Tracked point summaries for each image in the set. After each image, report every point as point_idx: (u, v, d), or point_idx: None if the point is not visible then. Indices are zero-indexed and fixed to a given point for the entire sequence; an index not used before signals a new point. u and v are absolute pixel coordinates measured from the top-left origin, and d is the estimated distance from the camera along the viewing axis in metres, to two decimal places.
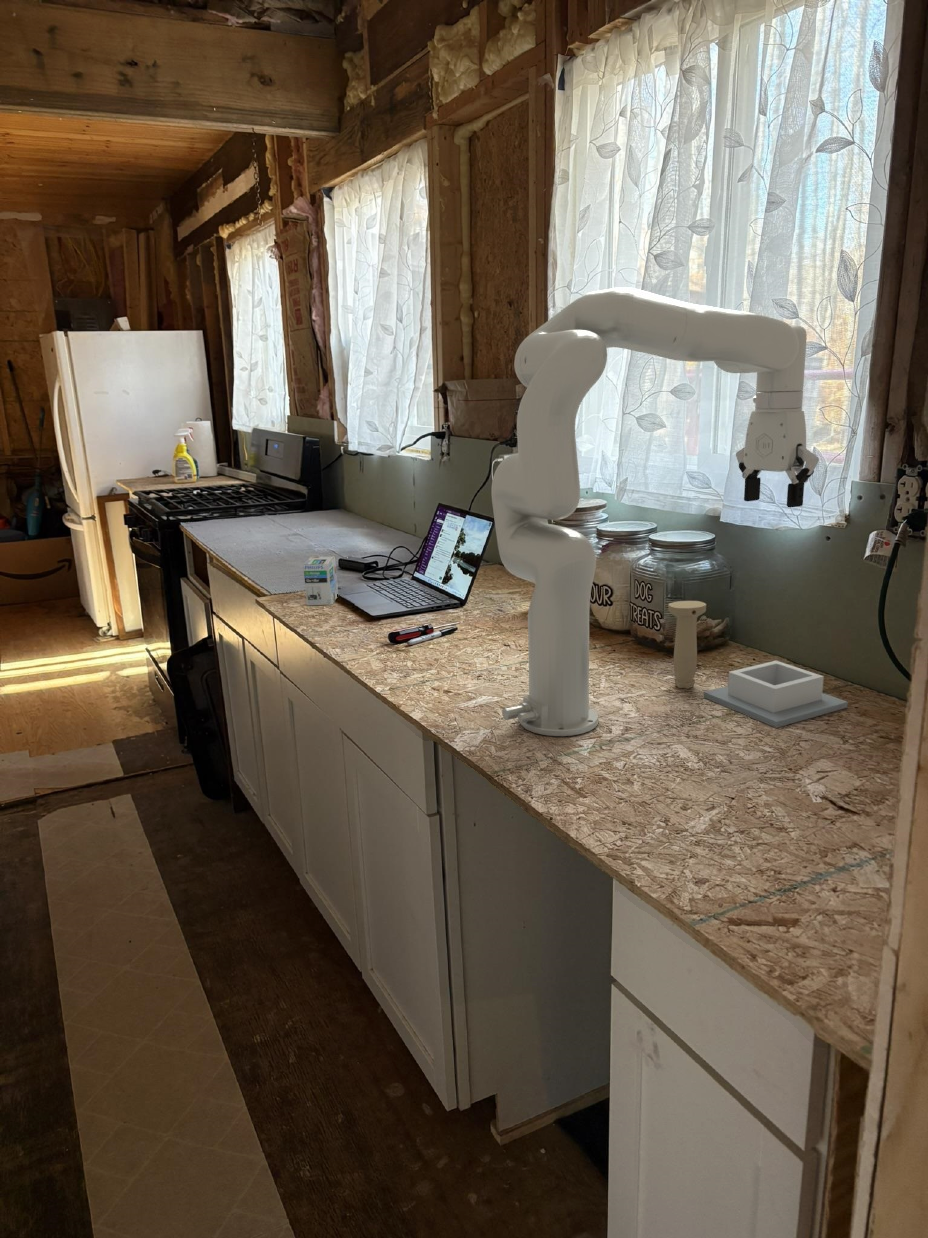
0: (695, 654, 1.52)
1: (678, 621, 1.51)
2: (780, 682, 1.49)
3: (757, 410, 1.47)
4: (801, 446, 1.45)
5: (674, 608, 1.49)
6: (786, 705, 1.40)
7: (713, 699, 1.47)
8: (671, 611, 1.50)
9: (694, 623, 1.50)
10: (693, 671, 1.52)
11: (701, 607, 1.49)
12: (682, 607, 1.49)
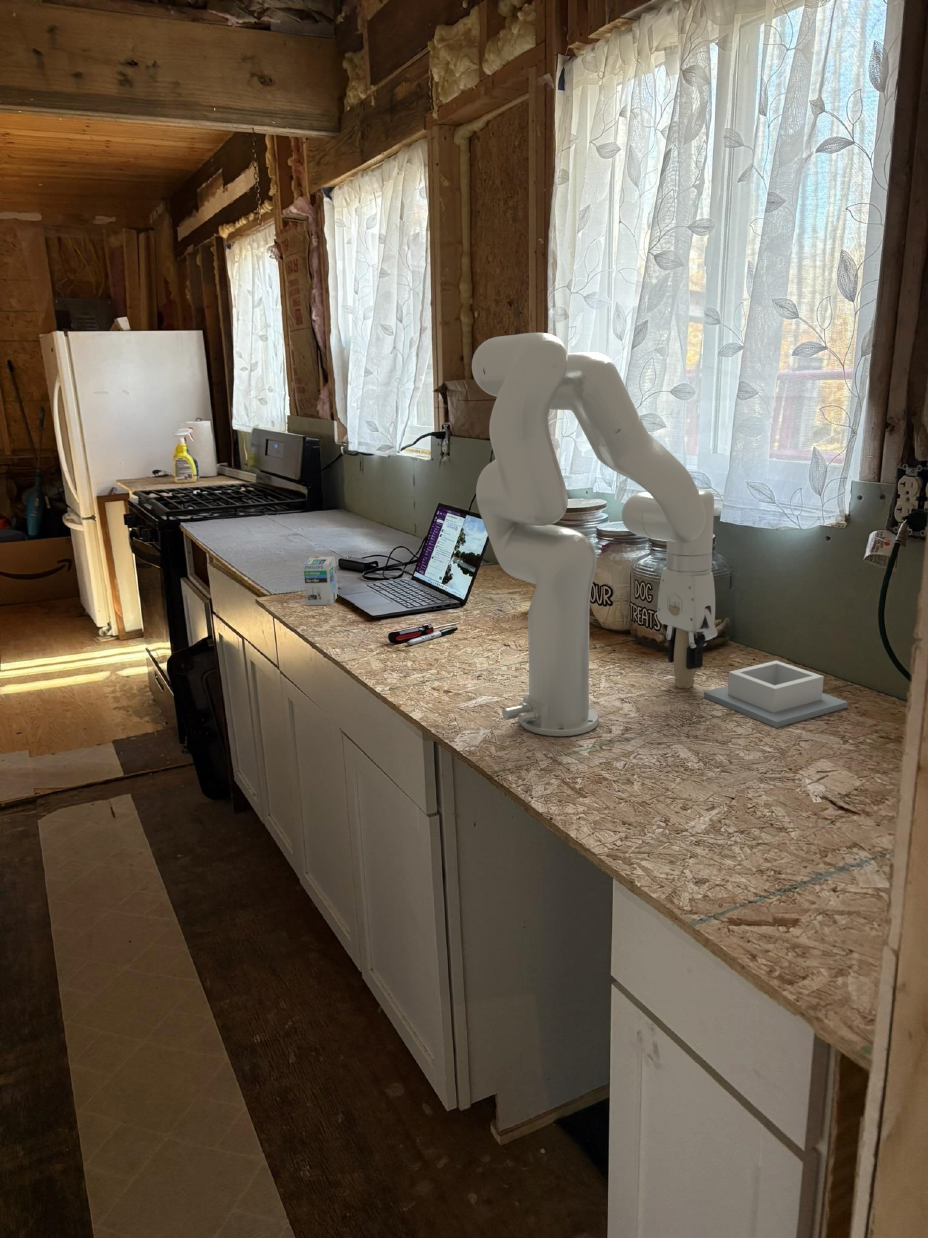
0: None
1: None
2: (780, 682, 1.49)
3: (667, 570, 1.48)
4: (709, 608, 1.46)
5: (674, 608, 1.49)
6: (786, 705, 1.40)
7: (713, 699, 1.47)
8: (671, 611, 1.50)
9: None
10: (693, 671, 1.52)
11: None
12: None
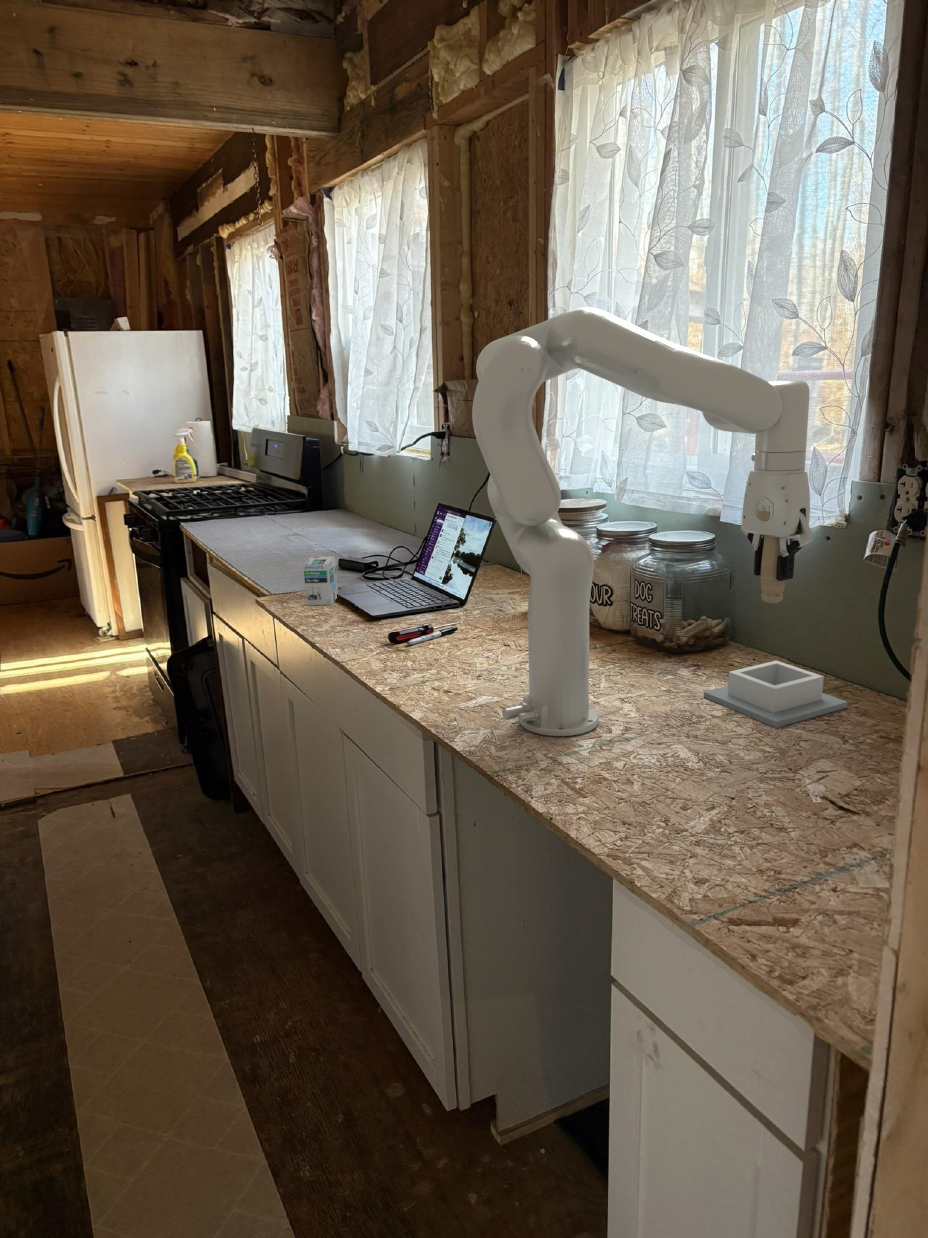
0: None
1: None
2: (780, 682, 1.49)
3: (756, 471, 1.36)
4: (805, 511, 1.34)
5: (764, 513, 1.36)
6: (786, 705, 1.40)
7: (713, 699, 1.47)
8: (760, 516, 1.37)
9: None
10: (783, 583, 1.40)
11: None
12: None
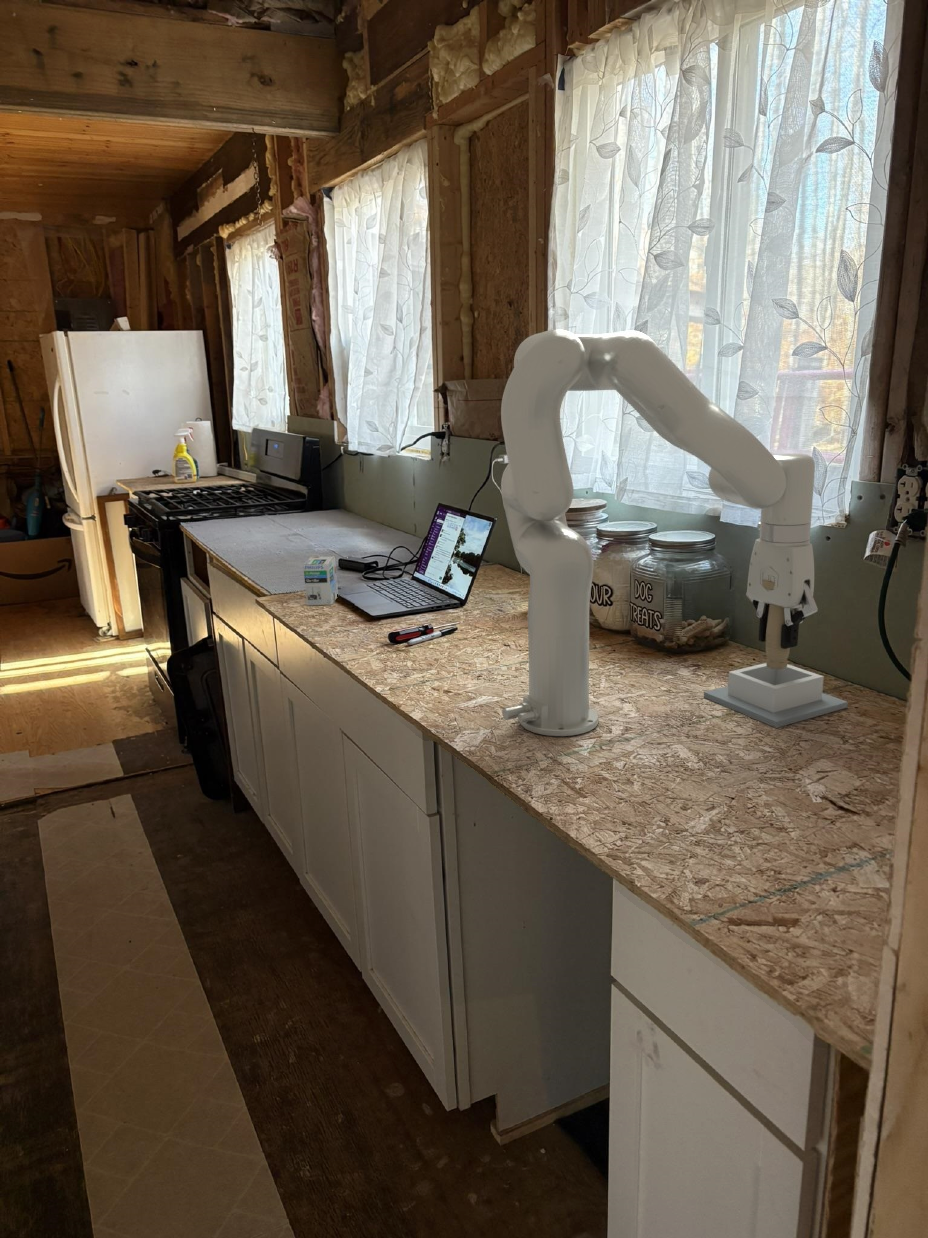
0: None
1: None
2: (780, 682, 1.49)
3: (762, 541, 1.38)
4: (809, 582, 1.36)
5: (769, 582, 1.38)
6: (786, 705, 1.40)
7: (713, 699, 1.47)
8: (765, 586, 1.39)
9: None
10: (787, 651, 1.42)
11: None
12: None
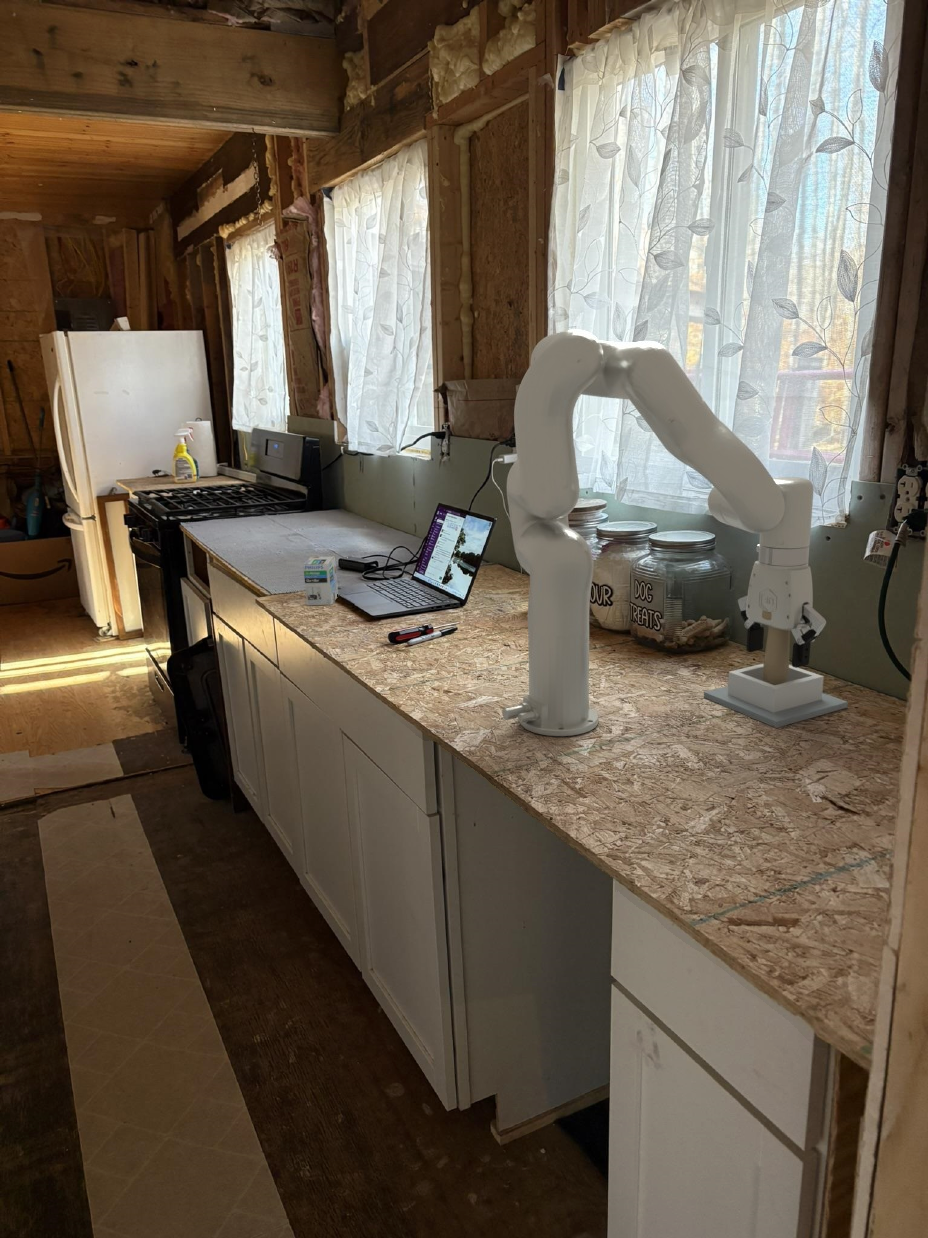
0: (788, 663, 1.43)
1: (771, 628, 1.42)
2: None
3: (760, 564, 1.39)
4: (807, 605, 1.37)
5: (768, 613, 1.40)
6: (786, 705, 1.40)
7: (713, 699, 1.47)
8: (764, 616, 1.41)
9: None
10: (785, 681, 1.43)
11: None
12: None
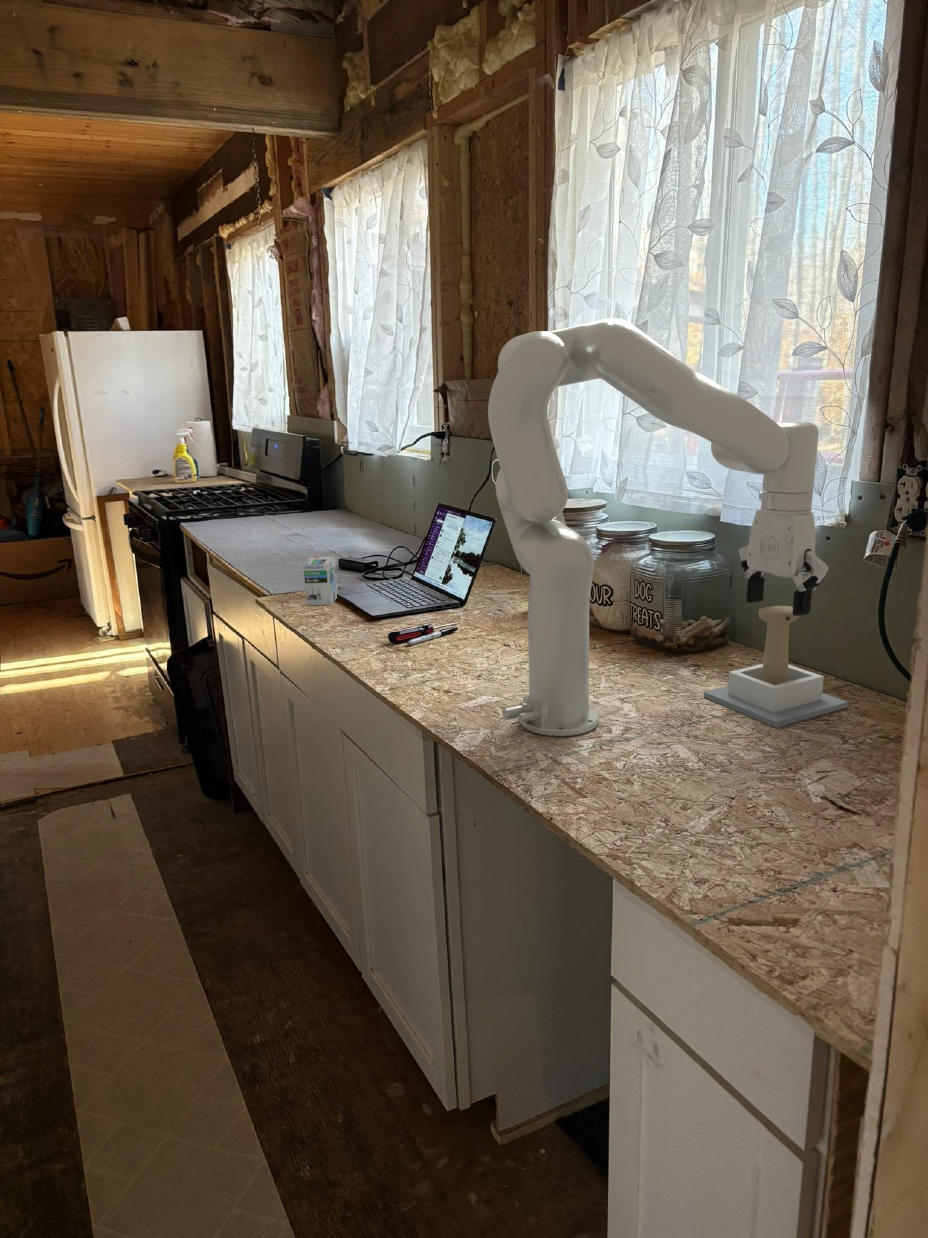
0: (787, 663, 1.43)
1: (769, 628, 1.42)
2: None
3: (763, 510, 1.37)
4: (810, 552, 1.34)
5: (766, 614, 1.40)
6: (786, 705, 1.40)
7: (713, 699, 1.47)
8: (763, 617, 1.41)
9: (787, 630, 1.41)
10: (784, 681, 1.43)
11: None
12: (775, 613, 1.40)
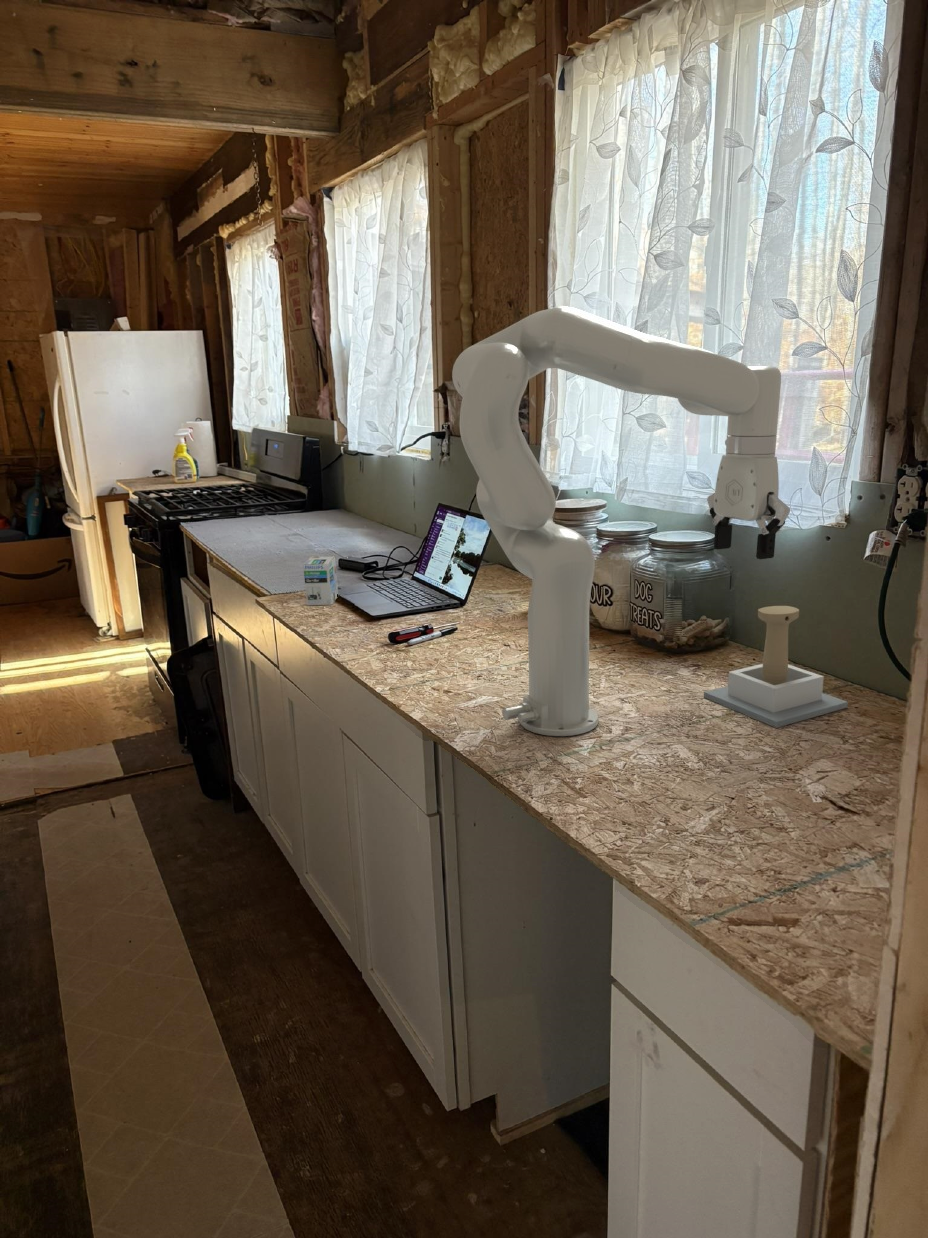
0: (786, 663, 1.43)
1: (769, 628, 1.42)
2: None
3: (727, 454, 1.38)
4: (772, 495, 1.36)
5: (766, 614, 1.40)
6: (786, 705, 1.40)
7: (713, 699, 1.47)
8: (762, 617, 1.41)
9: (786, 630, 1.41)
10: (784, 681, 1.43)
11: (794, 613, 1.40)
12: (774, 613, 1.40)
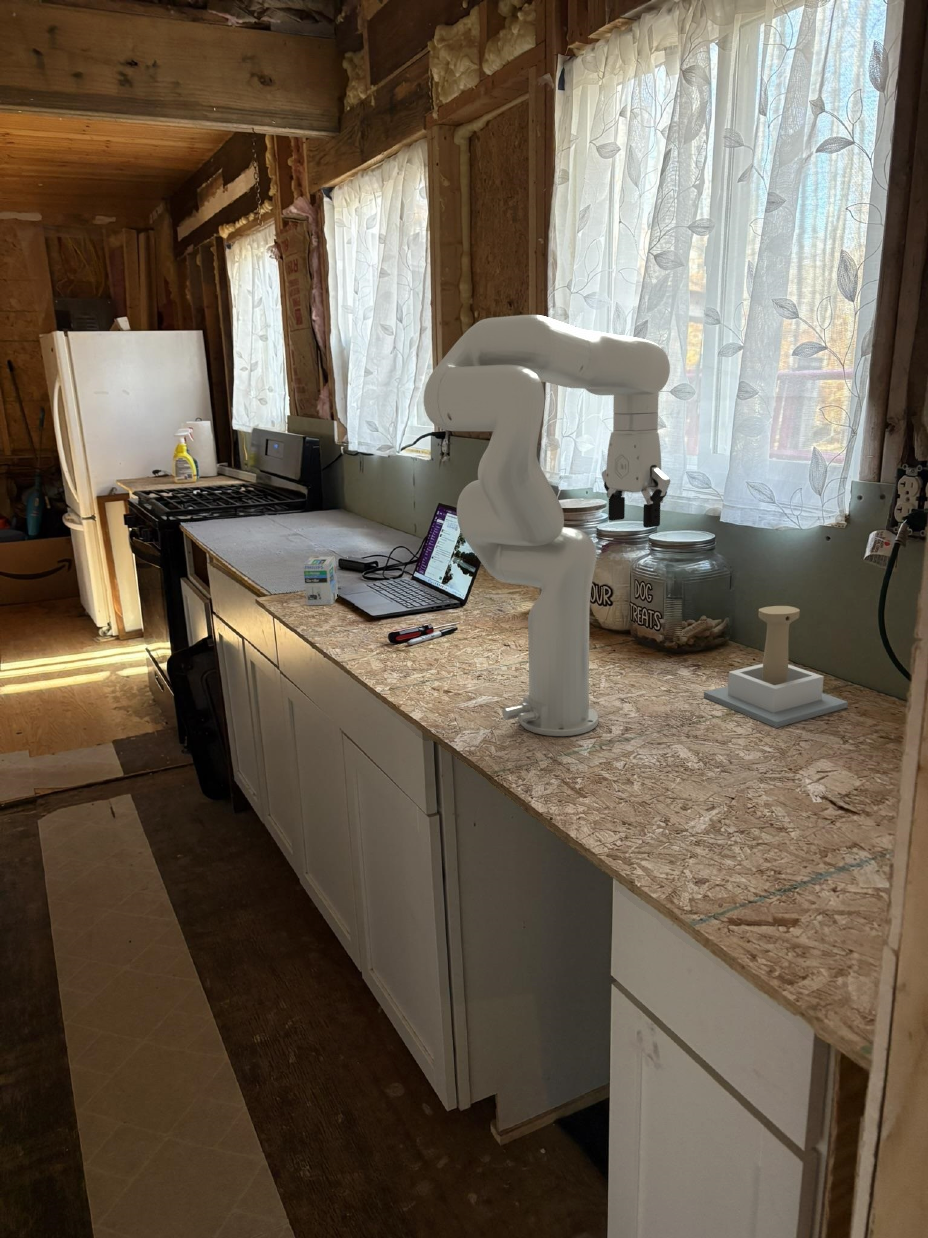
0: (787, 663, 1.43)
1: (769, 628, 1.42)
2: None
3: (614, 431, 1.49)
4: (655, 467, 1.47)
5: (766, 614, 1.40)
6: (786, 705, 1.40)
7: (713, 699, 1.47)
8: (762, 617, 1.41)
9: (787, 630, 1.41)
10: (784, 681, 1.43)
11: (795, 613, 1.40)
12: (775, 613, 1.40)
